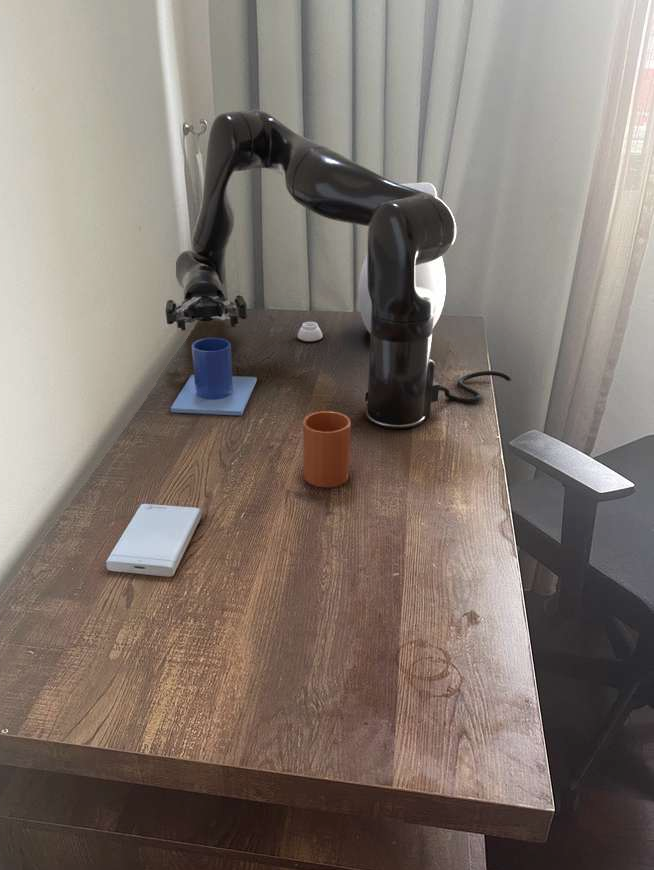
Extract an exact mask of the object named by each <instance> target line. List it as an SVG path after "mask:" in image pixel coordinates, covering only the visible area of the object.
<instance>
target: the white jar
mask: <svg viewBox="0 0 654 870" xmlns="http://www.w3.org/2000/svg"><path fill="white" fill-rule="evenodd" d="M301 325H302V326H301V327H300V328H299V330H298V332H297V338H298V339H299V340H301V341H303V342H317V341H320V340H321V339H322V338H323V331H322V330H321V328H320V326H319V325H318V322H315V321H305V322H303V323H302V324H301Z"/></svg>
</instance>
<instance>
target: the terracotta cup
mask: <svg viewBox="0 0 654 870" xmlns="http://www.w3.org/2000/svg"><path fill="white" fill-rule="evenodd" d="M351 427H352V422H351V418H349V417H348V416H347V415H346V414H343V413H341V412H337V411H330V410H326V411H324V410H322V411H321V410H320V411H317V412H313V413H310V414H308V415H306V416H305V417H304V418H303V420H302V463H303V465H302V469H303V471H302V472H303V479H304V480H305V482H306V483H308V485H312V486H315V487H319V488H335V487H339V486H341V485H343V484H345V483H346V482H348V480H349V478H350V465H351V464H350V462H351V434H352V433H351V431H352V428H351Z"/></svg>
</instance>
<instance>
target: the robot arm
mask: <svg viewBox="0 0 654 870" xmlns="http://www.w3.org/2000/svg"><path fill="white" fill-rule="evenodd" d="M256 169H268V170H271V171H274V172H276V173H278V174H280V175H282V178H283V182H284V186H285V188H286V192H287V193H288V194H289V196H290V197H291V198H292V199H293V200H294V201H295V202H296V203H298V204H299V205H301V206H302V207H304V208H305V209H307V210H309V211H311V212H313V213H314V214H316V215H317V216H320V217H323V218H326V219H327V220H333V221H337V222H341V223H346V224H353V225H359V226H365V227H367V235H366V255H367V284H368V291H369V295H370V299H371V303H372V309H371V332H370V333H369V356H368V357H369V360H368V378H367V379H368V381H367V392H366V393H365V398H364V400H365V403H366V412H365V414H366V415H365V416H366V419H367V420H368V421H369V422H370V423H371V424H373V425H375V426H378V427H381V428H386V429H392V430H404V429H411V428H414V427H417V426H419V425H421V424H423V423H424V422H425V420H428V419H429V420H430V418H431V409H432V403H434V402H438V401H439V392H440V391H441V392H444V396H445V397H446V398H447V399H449V400H451V401H455V402H460V403H464V404H473V403H477V402H479V401H481V400H482V397H483V395H482V393H481V392H479V391H478V390H476V389H474V388H473V387H471V386H468V385H466V384H465V383H464V382H467V381H468V380H471V379H473V378H478V377H483V376H484V377H485V376H494V377H499V378H502V379H504V380H505V381H508V382H512V381H513V378H511V376H510V375H509V374H507V373H506V372H502V371H499V370H480V371H475V372H471V373H468V374H466V375H463V376H461V377H460V378H458V380H457V382H456V384H457V386H458V388H460V389H461V390H463V391H465V392H467V393H470V394H471V395H473V396H474V397H463V396H458V395H456V394H452V393H450V388H449V387H447V386H445V385H441V384H439V383H438V382H437V381H435V379H434V377H435V367H436V364H435V362H434V360H432V359H431V351H432V350H431V349H432V338H433V330H434V327H433V318H434V308H435V297H434V294H433V293H432V292H431V291H430V290H428V289H426V288H423V287H419V286H416V285H415V266H416V265H420V264H424V263H428V262H431V261H433V260H436V259H438V258H440V257H441V256H442V257H443V256H444V255H446V254H447V253H448V252H449V251H450V250H451V248H452V246H453V245H454V243H455V241H456V237H457V225H456V222H455V221H456V220H455V217H454V216H453V213H452V211H451V209H450V208H449V207H448V206H447V204H446V203H445V202H444V201H443V200H441V199H440V198H439V197H438V196H437V197H435V196H433V195H431V194H428V193H425V192H422V191H419V190H416V189H412V188H409V187H406V186H403V185H400V184H401V183H397V182H395V181H392V180H390V179H387V178H386V177H384V176H382V175H380V174H378V173H376V172H374V171H373V170H371V169H369V168H367V167H365V166H363V165H361V164H359V163H358V162H355V161H353V160H351V159H350V158H347V157H346V156H344V155H343V154H340V153H338V152H336V151H334V150H333V149H330V148H329V147H326V146H323V145H322V144H319V143H317V142H316V141H313V140H311V139H309V138H307V137H305V136H302V135H301V134H298V133H296V132H294V131H293V130H292V129H291V128H289V127H288V126H287V125H285V124H283V122H281V121H280V120H278V119H277V118H276V117H274V116H272V115H271V114H269V113H268V112H266V111H263V110H259V109H250V110H249V109H248V110H247V109H245V110H238V111H237V110H236V111H235V110H234V111H228V112H227V111H226V112H222V113H220V114H218V115H217V116H215V118H214V119H213V120H212V123H211V126H210V129H209V133H208V137H207V146H206V153H205V164H204V173H203V183H202V184H203V187H202V195H201V196H202V197H201V204H200V208H199V213H198V215H197V219H196V223H195V226H194V230H193V233H192V237H191V247H192V249H193V250H184V251H182V252H181V253H180V254H178V256H177V258H176V259H177V261H176V260H175V262H176V277H175V280H176V282H177V284H178V285H179V286H180V287H181V289H183V301H182V302H181V303H177V302H175V300H173V299H169V300H167V301H166V305H165V317H166V324H167V325H173V324H174V323H176V328H178V329H181V331H187V330H186V329H187V328H186V324H187V323H188V324H192V323H193V322H195V321H200V322H211V321H214V320H215V319H217V320H221V321H227V320H229V323H230V327H231V328H235V327H236V325H238V324H239V322H240V321H239V318H240V319H241V320H246V319H248V313H247V312H248V311H247V307H248V306H247V302H246V301H245V298H244V297H243V295H240V294H239V295H236V296H235V298H234V297H233V298H234V299H233V300H232V299H231V300H229V299H228V298H227V297H225V292H224V289H223V285H224V283H225V280H226V253H227V248H228V245H229V243H230V238H231V236H232V233H233V230H234V226H235V212H234V208H233V204H232V202H231V199H230V196H229V193H228V186H229V181H230V180H231V178H232V175H233V173H234V172H242V171H249V170H256Z"/></svg>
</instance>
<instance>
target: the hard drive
mask: <svg viewBox="0 0 654 870" xmlns="http://www.w3.org/2000/svg"><path fill="white" fill-rule="evenodd" d="M201 519H202V510H201V508H199V507H191V506H181V505H180V506H178V505H165V504H151V503H141V504H140V506H139V507H138V509H137V510H136V512H135V514H134V515H133V517H132V519H131V520H130V522H129V524H128V525H127V526H126V529H125V530H124V531H123V533H122V535H121V537H119V540H118V541H117V542H116V544H115V546H114V548H113V549H112V551H111V553H110V554H109V556H108V558H107V559H106V561H105V565H106V570H108V571H110V572H117V573H125V574H127V573H128V574H138V575H139V574H140V575H148V576H157V577H167V578H172V577H174V576H175V573H176V571H177V568H178V567H179V565H180V563H181V560H182V558H183V557H184V555H185V552H186V551H187V548H188V546H189V544H190V542H191V540H192V538H193V535H194V533H195V531H196V529H197V527H198V525H199V523H200V521H201Z"/></svg>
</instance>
